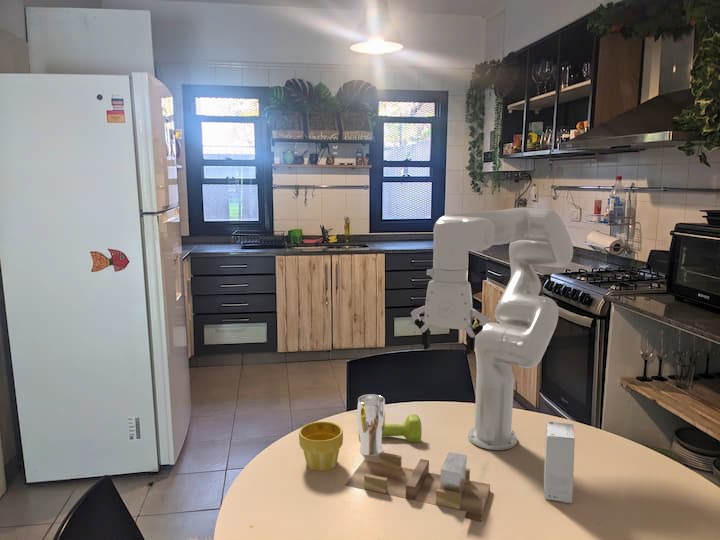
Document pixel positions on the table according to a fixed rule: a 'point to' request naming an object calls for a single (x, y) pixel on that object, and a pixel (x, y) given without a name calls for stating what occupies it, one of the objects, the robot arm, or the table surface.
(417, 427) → the dumbbell
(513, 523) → the table surface
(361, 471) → the board
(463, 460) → the grey rectangular block
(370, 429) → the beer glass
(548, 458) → the skincare box
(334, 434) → the plant pot
